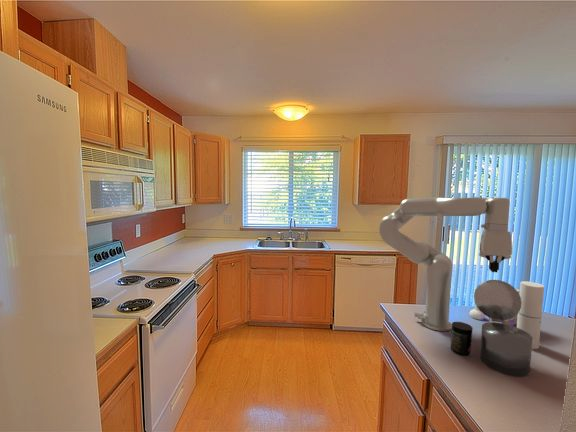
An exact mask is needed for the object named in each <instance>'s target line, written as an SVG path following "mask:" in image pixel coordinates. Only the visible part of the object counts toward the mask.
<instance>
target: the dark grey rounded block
mask: <svg viewBox="0 0 576 432" xmlns="http://www.w3.org/2000/svg"><path fill="white" fill-rule="evenodd" d="M480 337H481V338H480V347H479V348H480V351H479V358H480V361H481V362H482V363H483V364H484V365H485V366H487V367H488V368H490V369H491V370H494V371H495V372H498V373H499V374H504V375H506V376H511V377H514V378H515V377H517V378H524V377H527V376H529V375H530V372H531V362H532V350H533V349H532V336H531V335H530V334H528V333H527V332H525V331H523V330H521V329H519V328H517V326H510V325H507V324H502V323H494V322H489V321H488V322H484V323H482V325H481V336H480Z"/></svg>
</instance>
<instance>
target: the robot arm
mask: <svg viewBox="0 0 576 432" xmlns="http://www.w3.org/2000/svg"><path fill="white" fill-rule="evenodd" d="M484 214H485V221H484V223H483V224H481V225H480V227H481V229H484V230H482V232H481V238H480V242H479V254H478V256H479V257H481V258H485V259H486V260H488V269H489V270H490V271H491V273H498V271H500V264H501V262H502V261H504V260H508V259H511V258H512V254H513V242H512V234H511V233H512V232H511V231H509V221H510V220H509V219H510V199H509V198H507V197H489V198H486V197H478V196H472V197H455V198H454V197H451V198H450V197H449V198H448V197H447V198H446V197H437V196H436V197H419V198H418V197H415V198H414V197H413V198H411V197H410V198H404V199H403V200H402V201H400V204H399V206H398V207H397V208H396V209H395V210H394V211H393V212H391V214H389V215H386V216H384V217H383V218H381V220H380V222H379V225H378V227H379V229H378V231H379V235H380V237H381V239H382V240H383V241H384V242H385V244H387V245H388V246H389V247H391V248H392V249H394V250H395V251H397V252H398V253H400V254H401V255H402V256H403V257H405V258H407V259H408V260H409V261H411V262H412V263H414V264H419V265H420V264H424V265H425V266H427V267H426V268H427V269H426V295H425V296H426V297H425V298H426V299H425V311H423V312H421V313H419V312H414V318H417V319H418V320H421V324H422V325H423V326H424V327H426V328H428V329H430V330H433V331H439V332H449V331H452V322H450V304H451V302H450V301H451V285H452V284H451V283H452V274H453V263H452V260H451V259H450V257H449V256H447V255H446V254H445V253H443V252H442V251H440V250H438V248H437V249H436V248H435V247H433V246H432V245H430V244H428V243H427V242H425V241H421V240H418V241H415V240H414V239H412V238H411V237H409V236H408V235H406V234H404V233H402V232H401V231H399V230H400V229H401V228H402V227H404V226H405V225H406V224H407V223H408V222H409V221H410V220H412V219H413V218H414V217H478V216H481V215H484ZM494 257H495V259H494Z"/></svg>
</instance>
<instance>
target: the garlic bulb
mask: <svg viewBox="0 0 576 432" xmlns="http://www.w3.org/2000/svg"><path fill="white" fill-rule="evenodd" d="M469 317H470V318H472V319H473V320H474V319H475V320H479V321H481V320H484V319H485V317H486V315H484V314H483V313H482V312H481V311H480V310H479V309H478V308H477V306H476V305H475V306H474V308H473V309H471V310H470V311H469Z"/></svg>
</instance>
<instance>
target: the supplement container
mask: <svg viewBox="0 0 576 432" xmlns="http://www.w3.org/2000/svg"><path fill="white" fill-rule="evenodd" d="M451 324H452V329H451V334H450V335H451V336H450V350H451V351H452V352H453V354H456V355H458V356H462V357H468V356H470V355H471V354H472V343H473V326H472V325H471V324H468V323H466V322H461V321H454V322H451Z"/></svg>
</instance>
